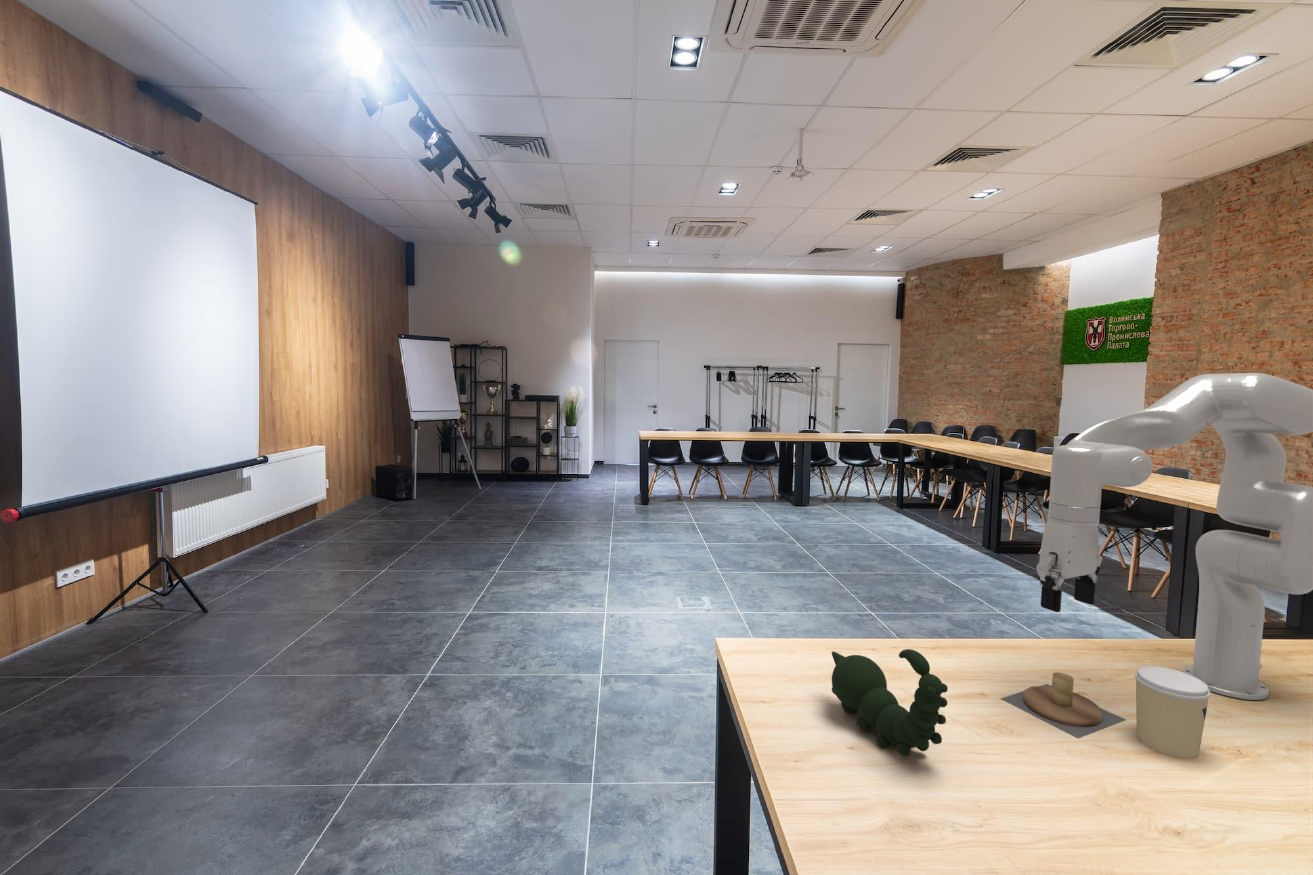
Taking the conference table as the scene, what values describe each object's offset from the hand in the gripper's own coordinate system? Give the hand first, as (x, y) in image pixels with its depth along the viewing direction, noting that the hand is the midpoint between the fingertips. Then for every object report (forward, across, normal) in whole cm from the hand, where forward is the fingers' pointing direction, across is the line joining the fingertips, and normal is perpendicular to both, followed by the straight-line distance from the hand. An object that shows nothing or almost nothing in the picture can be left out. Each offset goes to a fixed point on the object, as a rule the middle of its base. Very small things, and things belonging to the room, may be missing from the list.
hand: (1067, 605), depth 107 cm
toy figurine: (+21, +36, -9) cm, 42 cm away
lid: (+20, 0, 0) cm, 20 cm away
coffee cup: (+20, -5, +14) cm, 25 cm away
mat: (+20, 0, 0) cm, 20 cm away
